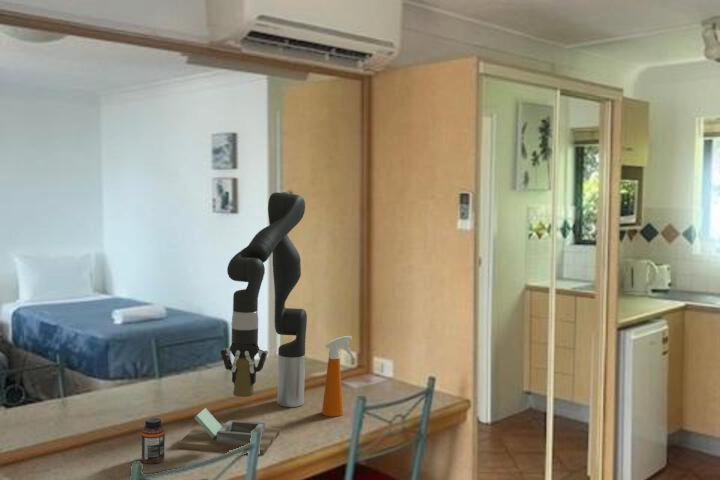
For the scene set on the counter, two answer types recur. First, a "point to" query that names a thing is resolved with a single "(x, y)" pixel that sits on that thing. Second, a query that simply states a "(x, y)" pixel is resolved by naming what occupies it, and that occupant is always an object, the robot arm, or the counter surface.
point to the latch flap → (208, 423)
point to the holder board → (229, 437)
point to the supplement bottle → (153, 441)
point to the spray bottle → (334, 378)
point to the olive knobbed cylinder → (243, 379)
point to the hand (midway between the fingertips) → (243, 384)
